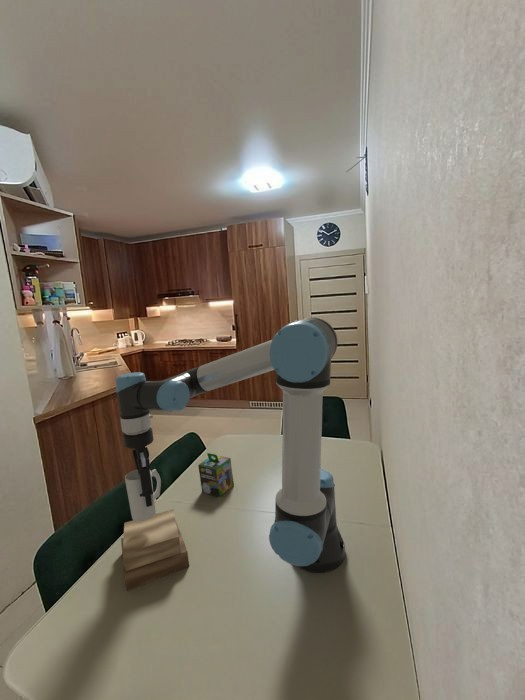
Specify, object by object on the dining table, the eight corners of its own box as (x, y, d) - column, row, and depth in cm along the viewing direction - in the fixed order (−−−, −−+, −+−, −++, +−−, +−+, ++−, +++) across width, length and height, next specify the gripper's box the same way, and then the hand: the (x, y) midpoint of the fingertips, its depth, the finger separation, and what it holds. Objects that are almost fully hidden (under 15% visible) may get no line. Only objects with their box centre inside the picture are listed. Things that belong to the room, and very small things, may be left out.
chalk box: (234, 485, 134) (230, 449, 132) (219, 498, 127) (215, 459, 125) (216, 481, 139) (212, 446, 137) (200, 492, 132) (196, 455, 130)
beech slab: (181, 553, 93) (178, 536, 92) (125, 571, 88) (122, 553, 88) (175, 523, 106) (173, 509, 105) (126, 538, 101) (124, 522, 101)
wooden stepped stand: (189, 567, 94) (187, 551, 94) (127, 592, 88) (124, 575, 87) (177, 534, 109) (175, 520, 108) (123, 554, 102) (120, 538, 102)
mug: (140, 525, 91) (134, 482, 90) (126, 518, 95) (119, 477, 94) (171, 505, 99) (165, 466, 98) (156, 499, 103) (150, 461, 102)
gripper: (157, 437, 86) (168, 523, 89) (147, 417, 104) (157, 489, 107) (125, 445, 83) (138, 533, 86) (120, 423, 101) (131, 496, 104)
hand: (148, 508), depth 97 cm, fingers closed on mug, 6 cm apart
